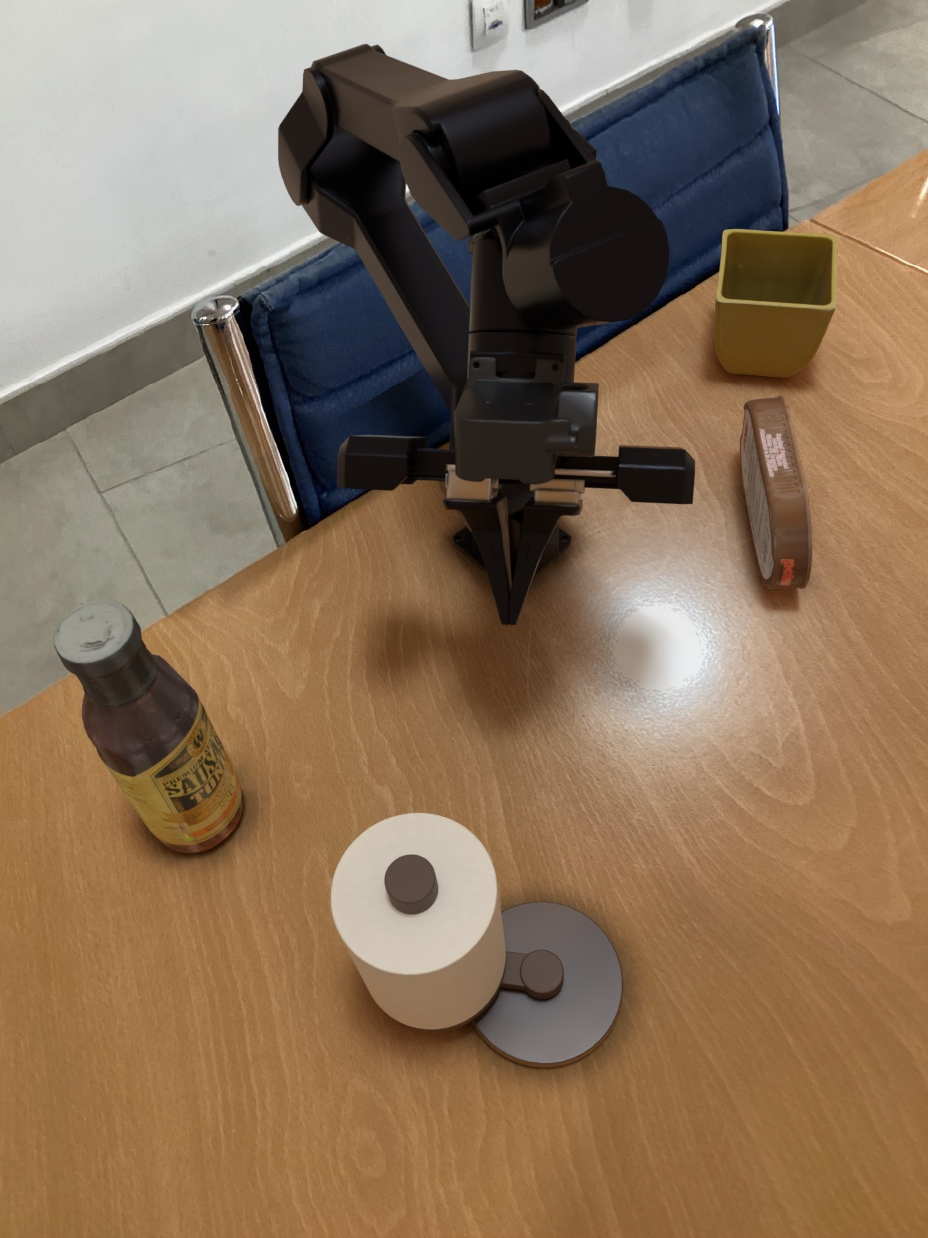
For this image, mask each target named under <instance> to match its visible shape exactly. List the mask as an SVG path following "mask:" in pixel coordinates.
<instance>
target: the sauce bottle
mask: <svg viewBox="0 0 928 1238" xmlns="http://www.w3.org/2000/svg"><path fill="white" fill-rule="evenodd" d="M53 632H54V633H53V637H52V639H53V640H52V641H53V642H52V643H53V646H54V650H55V652H56V654H57V656H58V657H59V659H60V662H61V663H62V665H63V666H64V668H66V670H67V671H68V672H69V673H71V674H73V675H75V676H76V678H77V679H78V681H79V682H80V684H81V686H82V690H83V692H84V694H83V698H82V703H81V721H82V725H83V728H84V731H85V733H86V735H87V738H88V739H89V740H90V741H91V743H92V745H93V746H94V747H95V749H96V753H97V755H98V757H99V759H100V760H101V761H102V763H103V765H104V766H105V767H106V769H107V770H108V772H109V773H110V774H111V776H112V777H113V779H114V781H115V782H116V784H117V785H118V787H119V788H120V789H121V790H122V792H123V794H124V795H125V797H126V798H127V800H128V801H129V803H130V804H131V806H132V807H133V809H134V810H135V811H136V813H137V815H138V816H139V818H140V819H141V821H142V822H143V824H144V825H145V826H146V828H147V829H148V831H150V833H151V834H152V835H153V836H155V838H156V839H158V840H159V841H160V842H161V843H162V844H163V845H165V846H166V847H167V848H169V849H171V850H173V851H176V852H177V853H184V854H198V853H202V852H205V851H208V850H211V849H213V848H215V847H216V846H218V845H219V844H220V843H222V842H223V841H224V840H225V839H227V838H228V837H229V836H230V835H231V833H232V832H234V831H235V829H236V826H237V825H238V824H239V823H240V821H241V816H242V811H243V801H244V800H243V790H242V785H241V781H240V779H239V776H238V774H237V771H236V770H235V768H234V766H233V764H232V762H231V760H230V758H229V756H228V753H227V751H226V749H225V747H224V745H223V744H222V742H221V739H220V737H219V735H218V733H217V730H216V729H215V726H214V725H213V723H212V722H211V719H210V717H209V715H208V713H207V711H206V708H205V706H204V705H203V703H202V701H201V699H200V697H199V694H198V693H197V692H196V690H195V689H194V688H193V687H192V686H191V684H189V683H188V681H186V680H185V678H183V676H182V675H181V674H180V673H178V671H177V670H176V669H175V668H174V667H173V666H171V664H169V662H168V661H167V660H166V659H165V658H163V657H162V656H161V655H159V654H154V653H152V652H151V651H150V650H149V649H148V648H147V646H146V644H145V642H144V640H143V637H142V636H143V635H142V629H141V626H140V624H139V622H138V621H137V619H136V617H135V615H134V614H133V612H132V611H131V610H130V609H129V608H128V607H127V606H126V605H125V604H124V603H121V602H119V601H117V600H116V599H115V600H114V599H108V598H98V599H92V600H89V601H86V602H82V603H80V604H78V605H76V606H75V607H73V608H72V609H70V610H69V611H68V612H67V613H66V614H64V616H62V618H61V619H60V620H59V622H58V625H56V627H55V629H54V631H53Z"/></svg>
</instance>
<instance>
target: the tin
mask: <svg viewBox="0 0 928 1238" xmlns="http://www.w3.org/2000/svg"><path fill="white" fill-rule="evenodd" d="M790 412H791V411H790V408H789V405H788V402H787V399H786V398H785V396H783V395H777V396H775V397H766V398H755V399H750V400H747V401H746V402H745V403H744V404H743V419H742V420H743V421H742V431H741V433H740V438H739V459H740V461H739V463H740V477H741V483H742V489H743V491H742V492H743V496H744V502H745V508H746V513H747V520H748V526H749V531H750V537H751V542H752V548H753V552H754V556H755V557H754V558H755V562H756V567H757V572H758V575H759V578H760V581H761V583H762V585H763V587H765V588H766V589H769V590H787V589H800V590H804V589H805V588H806V587H807V586H808V584H809V582H810V578H811V574H812V573H811V572H812V565H813V541H814V539H813V522H812V512H811V504H810V497H809V492H808V487H807V483H806V478H805V474H804V471H803V465H802V461H801V455H800V453H799V448H798V443H797V439H796V434H795V430H794V426H793V421H792V416H791V413H790Z"/></svg>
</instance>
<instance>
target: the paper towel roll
mask: <svg viewBox="0 0 928 1238" xmlns="http://www.w3.org/2000/svg"><path fill="white" fill-rule="evenodd" d="M496 873H497V872H496V869H495V866H494V862H493V860H492V858H491V856H490V854H489V852H488V850H487V849H486V847H485V846H484V844H483V843H482V842H481V841H480V839H479V838H478V837H477V836H476V835H475V834H474V833H473V832H472V831H470V830H469V829H468V828H467V827H465V826H464V825H462V824H461V823H459V822H457V821H455V820H453V819H451V818H448V817H445V816H443V815H440V814H434V813H429V812H428V813H426V812H409V813H402V814H397V815H394V816H390V817H388V818H385V819H382V820H380V821H378V822H376V823H375V824H373V825H371V826H370V827H368V828H367V829H365V830H364V831H363V832H361V833H360V834H359V835H358V836H357V837H356V838H355V839H354V840H353V841H352V842H351V844H350V845H349V846H348V847H347V848H346V850H345V852H344V853H343V855H342V856H341V857H340V860H339V862H338V863H337V866H336V868H335V871H334V873H333V876H332V880H331V881H332V882H331V886H330V897H329V899H330V900H329V901H330V911H331V914H332V915H331V916H332V920H333V923H334V925H335V929H336V931H337V933H338V934H339V936H340V939H341V941H342V942H343V945H344V946H345V948H346V950H347V952H348V953H349V956H350V957H351V959H352V962H353V963H354V965H355V968H356V969H357V972H358V973H359V975H360V978H361V979H362V981H363V982H364V985H365V986H366V988H367V990H368V992H369V994H370V996H371V998H372V1000H373V1001H374V1002H375V1005H376V1006H377V1007H378V1008H379V1009H380V1011H382V1013H383V1014H385V1016H387V1017H388V1018H389V1019H391V1020H392V1021H393V1022H395V1023H396V1024H398V1025H400V1026H402V1027H404V1028H407V1029H409V1030H412V1031H416V1032H420V1033H443V1032H449V1031H452V1030H455V1029H458V1028H460V1027H463V1026H465V1025H467V1024H469V1023H470V1022H472V1020H473V1019H475V1018H476V1017H477V1016H479V1015H480V1014H481V1013H482V1012H483V1011H484V1010H485V1009H486V1008H487V1007H488V1006H489V1005H490V1003H491V1002H492V1001H493V999H494V998H495V996H496V994H497V992H498V991H499V989H500V987H504V988H511V989H519V990H525V991H526V992H527V993H528V994H530V995H531V996H533V997H535V998H538V999H547V998H550V997H553V996H554V995H556V994H557V993H558V992H559V990H560V989H561V987H562V985H563V981H564V969H563V965H562V962H561V960H560V959H559V958H558V957H557V956H556V955H555V954H554V953H552V952H550V951H547V950H536V951H533V952H531V953H529V954H523V953H516V952H508V951H506V947H505V939H504V932H503V924H502V916H501V912H502V910H501V903H500V902H501V901H500V895H499V886H498V879H497V874H496Z"/></svg>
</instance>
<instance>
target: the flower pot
mask: <svg viewBox="0 0 928 1238" xmlns="http://www.w3.org/2000/svg"><path fill="white" fill-rule="evenodd" d="M838 250H839V242H838V238H837V236H836V235H834V234H827V233H826V234H825V233H815V232H814V233H812V232H795V231H794V232H791V231H790V232H789V231H776V230H775V231H771V230H758V229H743V228H731V229H724V230H723V232H722V235H721V253H720V264H719V270H718V278H717V285H716V292H715V300H714V330H713V331H714V334H713V337H714V338H713V339H714V341H713V342H714V343H713V344H714V349H715V353H716V356H717V359H718V362H719V363H720V364H721V366H722V367H723V368H724V370H725V371H726V372H727V373H729V374H733V375H745V376H758V377H770V378H779V379H780V378H781V379H787V378H790V377H792V376H795V374H798V373H799V372H801V371H802V370H803V369H804V368H805V367H806V366H807V365H808V364H810V362H811V361H812V360H813V358H814V357H815V356H816V354H817V352H818V351H819V350H820V349H819V348H820V346H821V344H822V341H823V340H824V337H825V335H826V332H827V330H828V328H829V325H830V323H831V321H832V319H833V316H834V313H835V311H836V309H837V306H838V252H839V251H838Z"/></svg>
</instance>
